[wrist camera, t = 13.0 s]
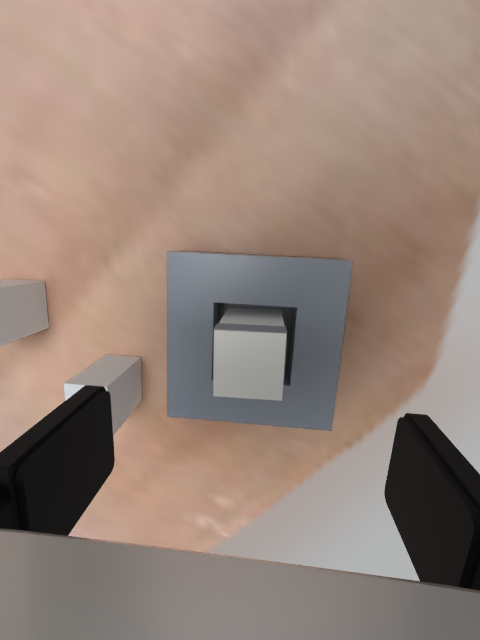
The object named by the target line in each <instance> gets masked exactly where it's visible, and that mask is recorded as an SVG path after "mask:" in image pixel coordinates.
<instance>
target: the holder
mask: <svg viewBox="0 0 480 640" xmlns="http://www.w3.org/2000/svg"><path fill="white" fill-rule="evenodd" d="M352 263H353V261H350V260H344V259H336V258H316V257H296V256H276V255H257V254H237V253H217V252H198V251H167V417H178V418H189V419H201V420H213V421H224V422H236V423H247V424H259V425H270V426H282V427H294V428H305V429H317V430H328V431H332V423H333V415H334V407H335V399H336V391H337V383H338V375H339V367H340V359H341V351H342V343H343V335H344V327H345V319H346V311H347V303H348V295H349V287H350V279H351V271H352ZM228 307H236V308H258V309H279V310H281V312H282V316H283V321H284V325H285V326H286V329H287V345H286V360H285V375H284V390H283V401H277V400H262V399H247V398H232V397H217V396H213V337H214V327H215V326H216V324H217V323H219V322H220V320H221V319H222V317H223V315H224V314H225V312H226V311H227V309H228Z"/></svg>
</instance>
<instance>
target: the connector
mask: <svg viewBox="0 0 480 640" xmlns="http://www.w3.org/2000/svg"><path fill="white" fill-rule="evenodd" d="M286 345H287V329H286V326H285V325H284V321H283V316H282V312H281V310H279V309H258V308H236V307H228V309H227V311H226V312H225V314H224V315H223V317H222V319H221V320H220V322H219V323H217V324H216V326H215V327H214V337H213V396H217V397H232V398H247V399H262V400H277V401H283V390H284V375H285V360H286Z"/></svg>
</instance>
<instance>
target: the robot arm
mask: <svg viewBox="0 0 480 640" xmlns="http://www.w3.org/2000/svg"><path fill="white" fill-rule="evenodd" d="M113 467H114V443H113V427H112V411H111V396H110V392H109V391H106V389H105V387H103V386H92V385H85V386H84V387H82V388H81V389H80V390H79V391H77V392H76V393H75V394H73V395H72V396H71V397H70V398H68V399H67V400H66V401H65V402H63V403H62V404H61V405H60V406H58V407H57V408H56V409H55V410H53V411H52V412H51V413H49V414H48V415H47V416H46V417H44V418H43V419H42V420H41V421H39V422H38V423H37V424H36V425H34V426H33V427H32V428H31V429H29V430H28V431H27V432H25V433H24V434H23V435H22V436H20V437H19V438H18V439H17V440H15V441H14V442H13V443H12V444H10V445H9V446H8V447H6V448H5V449H4V450H3V451H1V452H0V640H480V474H479V473H478V472H477V471H476V470H475V469H474V468H473V466H472V465H471V464H470V463H469V462H468V461H467V459H466V458H465V457H464V456H463V455H462V454H461V453H460V452H459V450H458V449H457V448H456V447H455V446H454V445H453V444H452V442H451V441H450V440H449V439H448V438H447V437H446V436H445V434H444V433H443V432H442V431H441V430H440V429H439V428H438V426H437V425H436V424H435V423H434V422H433V421H432V420H431V419H430V417H428V416H427V415H421V414H410V413H407V414H405V416H404V418H402V417H401V418H399V420H398V422H397V428H396V433H395V438H394V443H393V449H392V454H391V459H390V464H389V470H388V476H387V480H386V485H385V499H386V503H387V505H388V508H389V510H390V512H391V515H392V517H393V519H394V521H395V524H396V526H397V529H398V531H399V533H400V535H401V538H402V540H403V542H404V545H405V547H406V549H407V552H408V554H409V556H410V559H411V561H412V563H413V566H414V568H415V570H416V573H417V575H418V577H419V579H420V581H413V580H406V579H399V578H392V577H384V576H377V575H369V574H362V573H355V572H347V571H339V570H332V569H324V568H317V567H310V566H302V565H295V564H287V563H280V562H272V561H265V560H256V559H249V558H242V557H233V556H226V555H218V554H211V553H203V552H195V551H187V550H179V549H171V548H163V547H155V546H147V545H139V544H131V543H122V542H114V541H106V540H98V539H89V538H81V537H73V536H68V535H69V533H70V532H71V530H72V529H73V527H74V526H75V524H76V523H77V522H78V520H79V519H80V517H81V516H82V514H83V513H84V511H85V510H86V508H87V507H88V505H89V504H90V503H91V501H92V500H93V498H94V497H95V495H96V494H97V492H98V491H99V489H100V488H101V486H102V485H103V484H104V482H105V481H106V479H107V478H108V476H109V475H110V473H111V472H112V470H113Z"/></svg>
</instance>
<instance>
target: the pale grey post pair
mask: <svg viewBox="0 0 480 640" xmlns="http://www.w3.org/2000/svg"><path fill="white" fill-rule="evenodd" d="M47 328H49V322H48V311H47V300H46V289H45V281H37V280H20V279H6V280H0V346H2V345H5V344H7V343H10V342H13V341H15V340H18V339H21V338H23V337H26V336H29V335H31V334H34V333H37V332H39V331H42V330H45V329H47ZM85 385H92V386H103V387H105V389H106V391H109V392H110V396H111V411H112V427H113V435H114V434H115V433H116V432H117V430H118V429H119V428H120V427H121V425H122V424H123V423H124V422H125V421H126V419H127V418H128V417H129V416H130V414H131V413H132V412H133V411H134V409H135V408H136V407H137V406H138V404H139V403H140V402H141V401H142V376H141V357H135V356H122V355H108V354H107V355H105V356H104V357H102V358H101V359H99V360H98V361H96V362H95V363H93V364H92V365H90V366H89V367H87V368H86V369H85V370H83V371H82V372H80V373H79V374H77V375H76V376H74V377H73V378H71V379H70V380H68V381H67V382H65V383H64V390H65V401H66V400H67V399H68V398H70V397H71V396H72V395H73V394H75V393H76V392H77V391H79V390H80V389H81V388H82V387H84V386H85Z"/></svg>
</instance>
